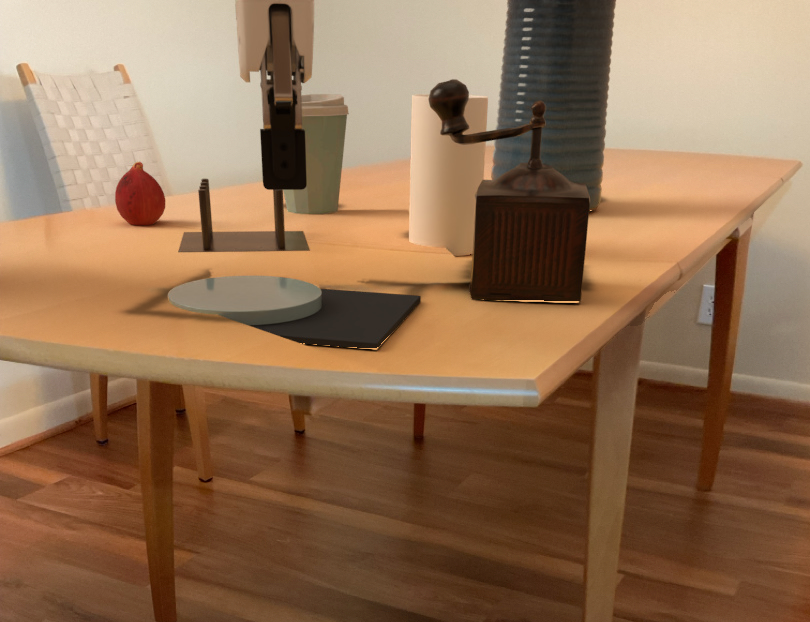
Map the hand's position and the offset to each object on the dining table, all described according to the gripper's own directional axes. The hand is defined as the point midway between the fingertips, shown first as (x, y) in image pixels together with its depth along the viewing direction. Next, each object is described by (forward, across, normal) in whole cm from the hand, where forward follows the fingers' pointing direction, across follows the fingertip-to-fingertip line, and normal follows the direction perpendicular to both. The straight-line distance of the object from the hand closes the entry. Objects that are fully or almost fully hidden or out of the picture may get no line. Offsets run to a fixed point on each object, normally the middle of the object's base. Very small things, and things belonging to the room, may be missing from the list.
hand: (284, 187), depth 68 cm
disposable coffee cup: (+11, -57, +5) cm, 58 cm away
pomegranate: (+11, -47, -16) cm, 51 cm away
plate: (+10, -1, 0) cm, 10 cm away
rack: (+11, -35, -4) cm, 37 cm away
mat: (+11, -6, 0) cm, 12 cm away
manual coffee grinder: (+11, -14, +21) cm, 28 cm away
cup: (+11, -34, +19) cm, 41 cm away
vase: (+11, -65, +40) cm, 77 cm away
